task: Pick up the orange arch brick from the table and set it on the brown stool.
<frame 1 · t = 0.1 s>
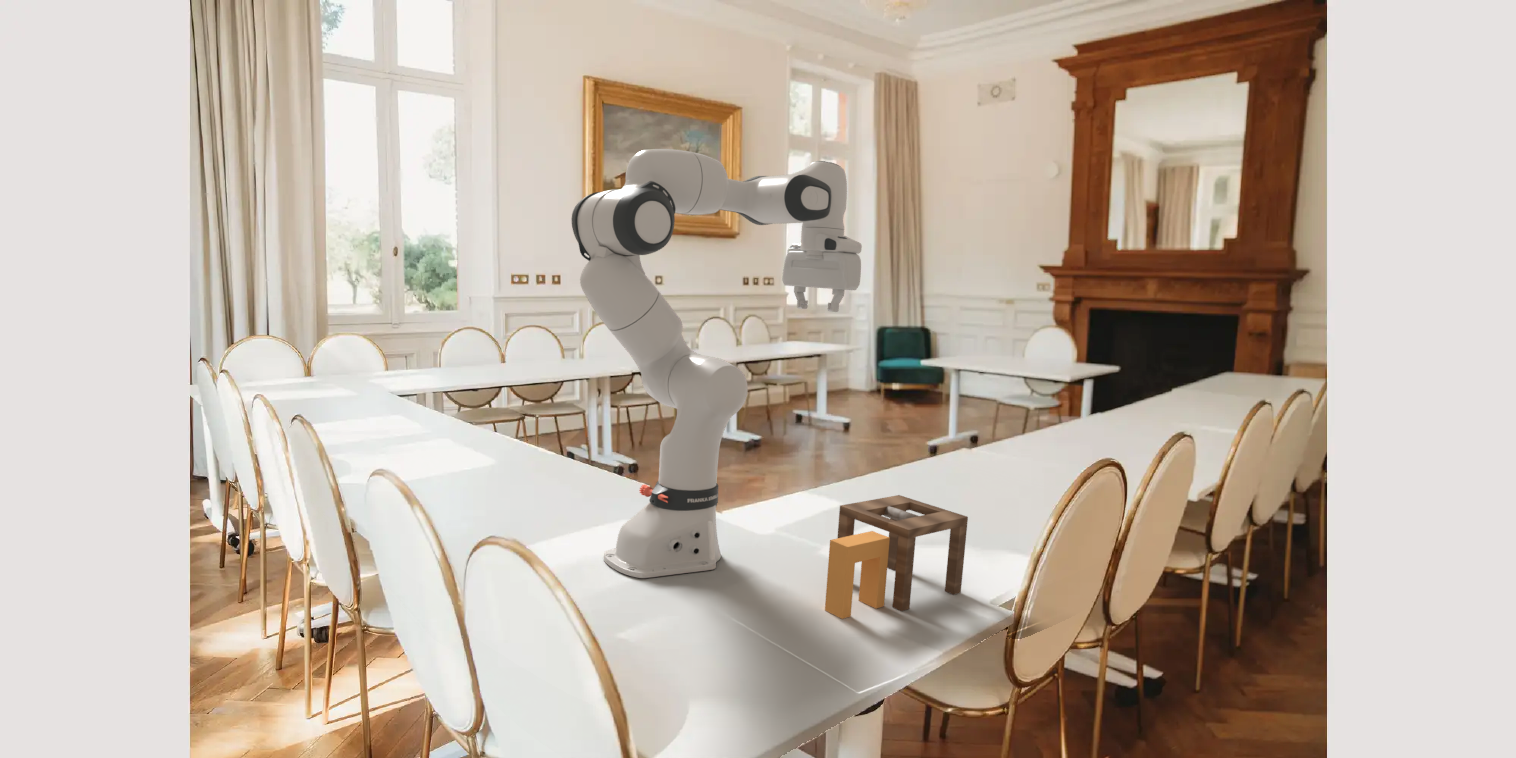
hand: (817, 310, 172), 48 cm above the table, fingers open, 8 cm apart
orange arch brick: (854, 608, 137), on the table
brown stool: (897, 586, 148), on the table
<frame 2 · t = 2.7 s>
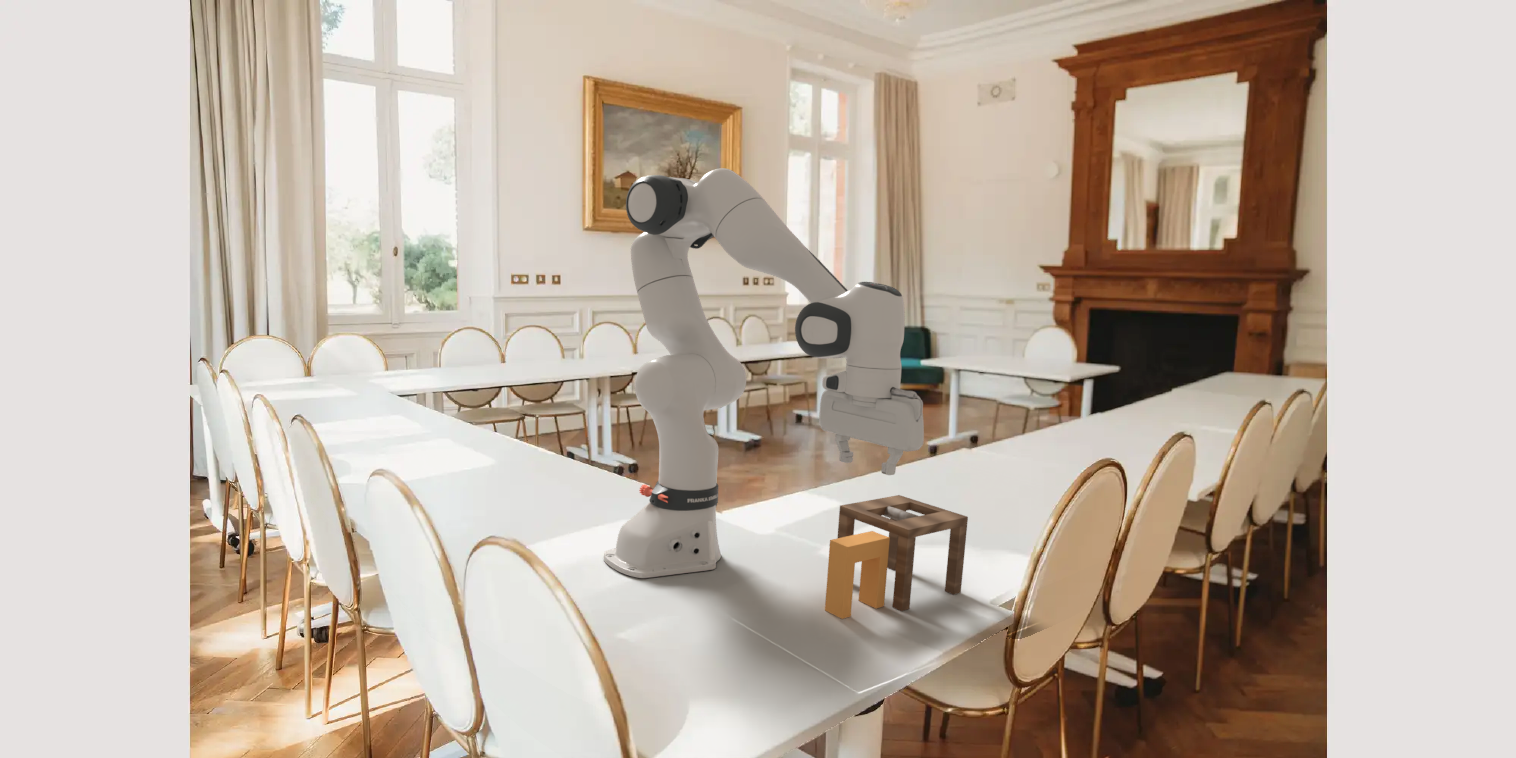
hand: (866, 467, 134), 24 cm above the table, fingers open, 8 cm apart
nothing on the table moved.
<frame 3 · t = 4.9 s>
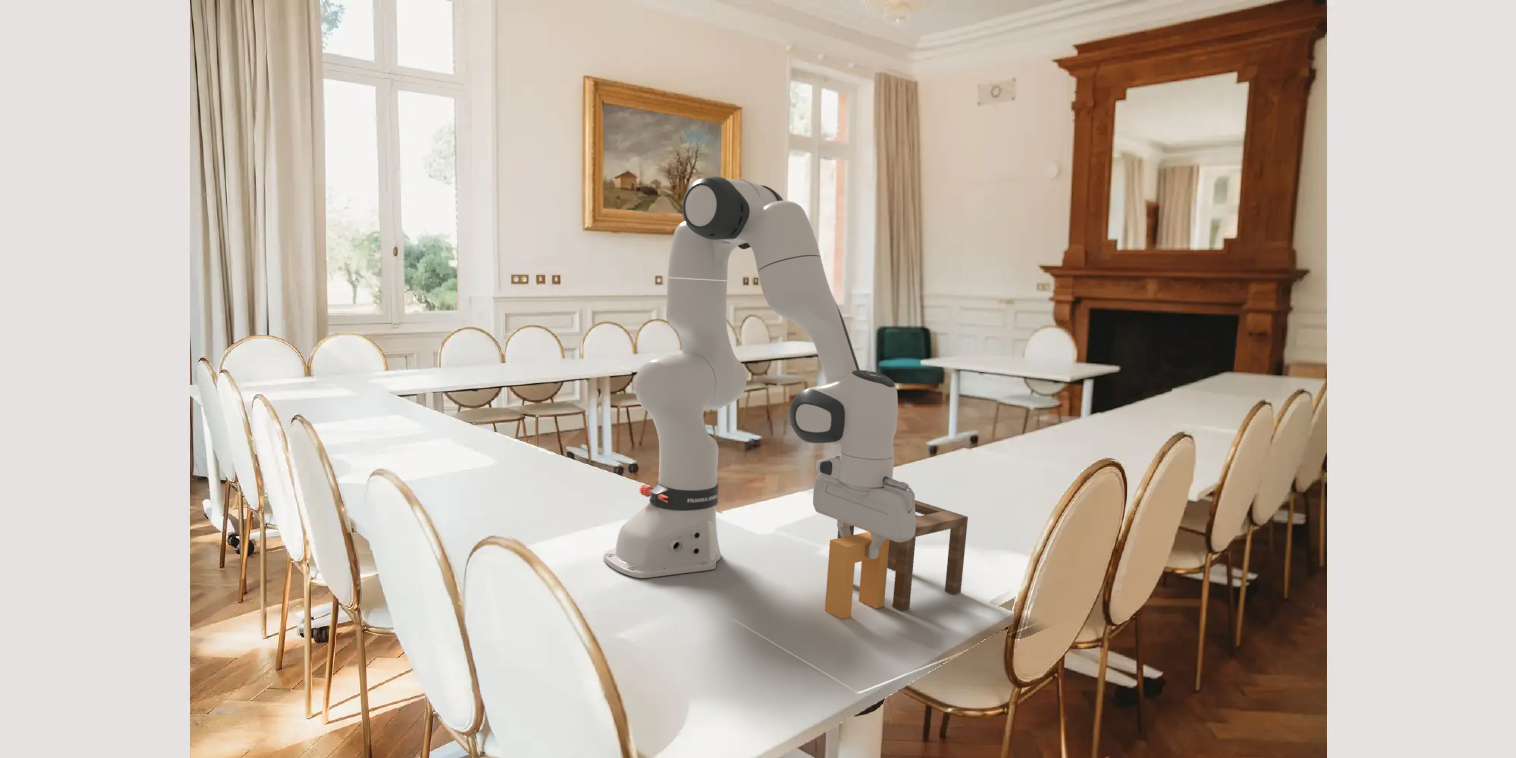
hand: (859, 552, 136), 10 cm above the table, fingers closed on orange arch brick, 4 cm apart
orange arch brick: (854, 608, 137), on the table, touching gripper
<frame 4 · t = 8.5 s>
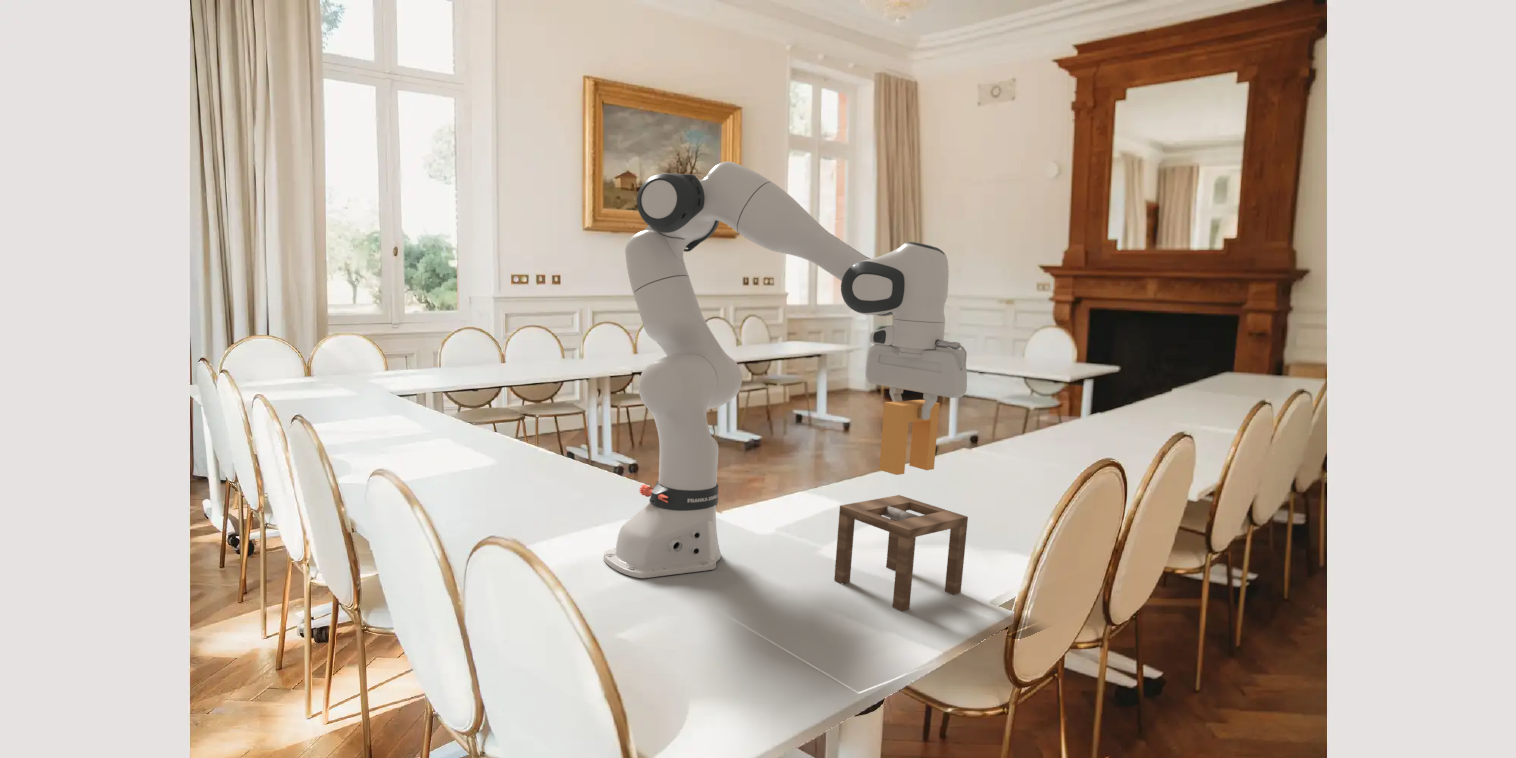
hand: (911, 416, 144), 31 cm above the table, fingers closed on orange arch brick, 4 cm apart
orange arch brick: (906, 469, 145), point 22 cm above the table, touching gripper
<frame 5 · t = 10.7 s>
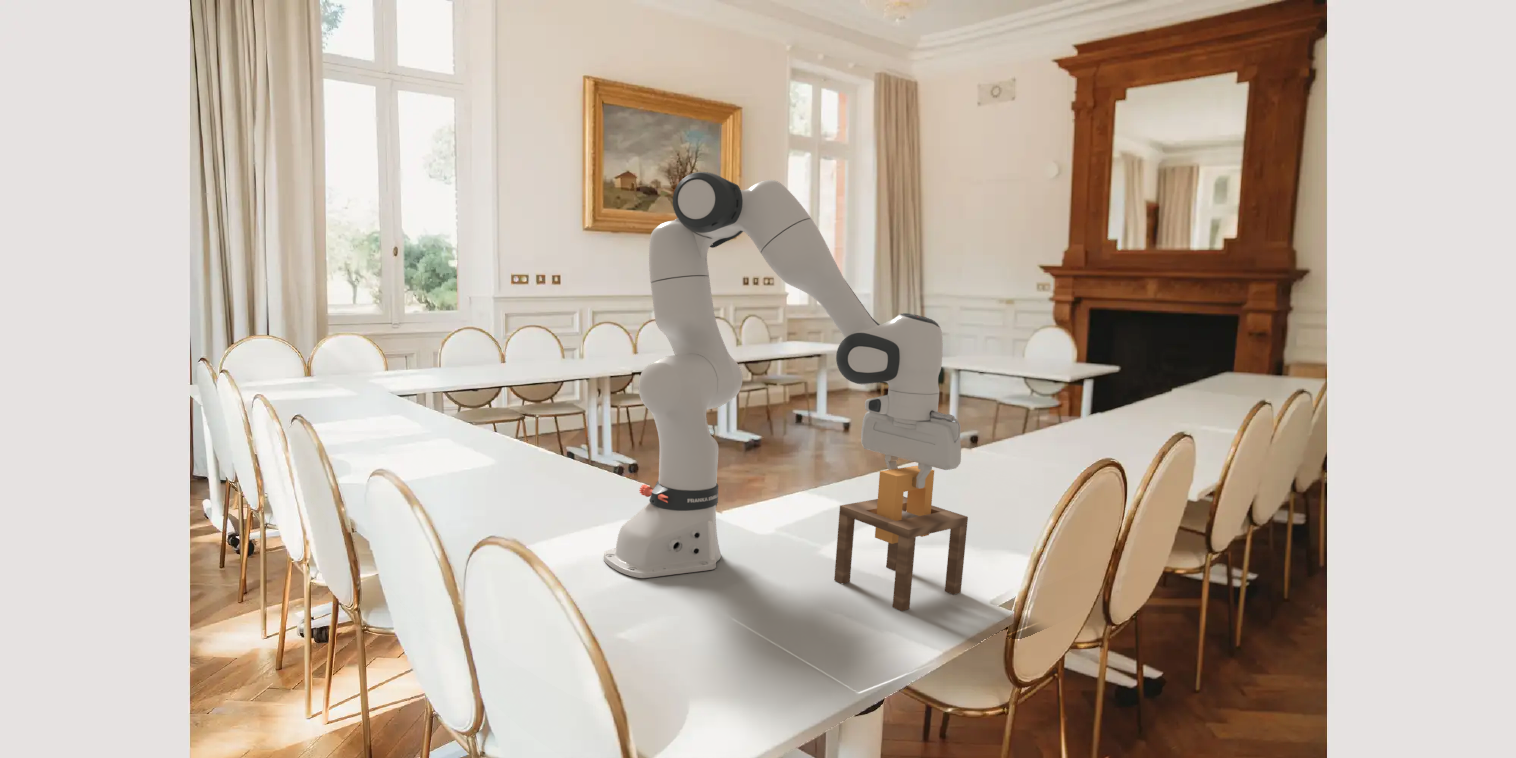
hand: (906, 483, 146), 19 cm above the table, fingers closed on orange arch brick, 4 cm apart
orange arch brick: (902, 536, 147), point 9 cm above the table, touching gripper
when the fingers open (16 cm above the table, at t = 12.4 s): orange arch brick drops 1 cm, resting on brown stool.
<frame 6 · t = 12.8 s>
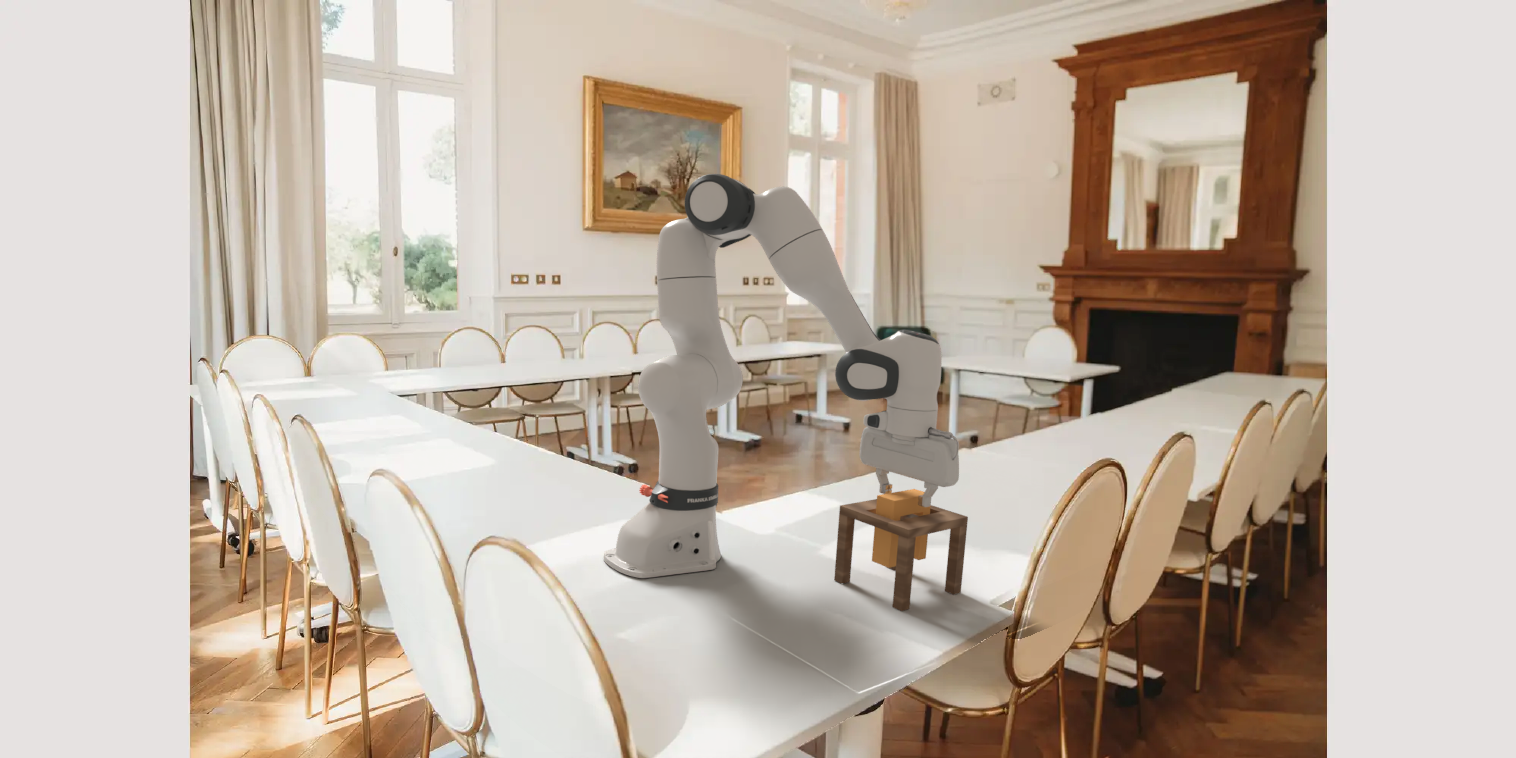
hand: (904, 499, 146), 16 cm above the table, fingers open, 8 cm apart
orange arch brick: (899, 559, 147), point 5 cm above the table, touching brown stool
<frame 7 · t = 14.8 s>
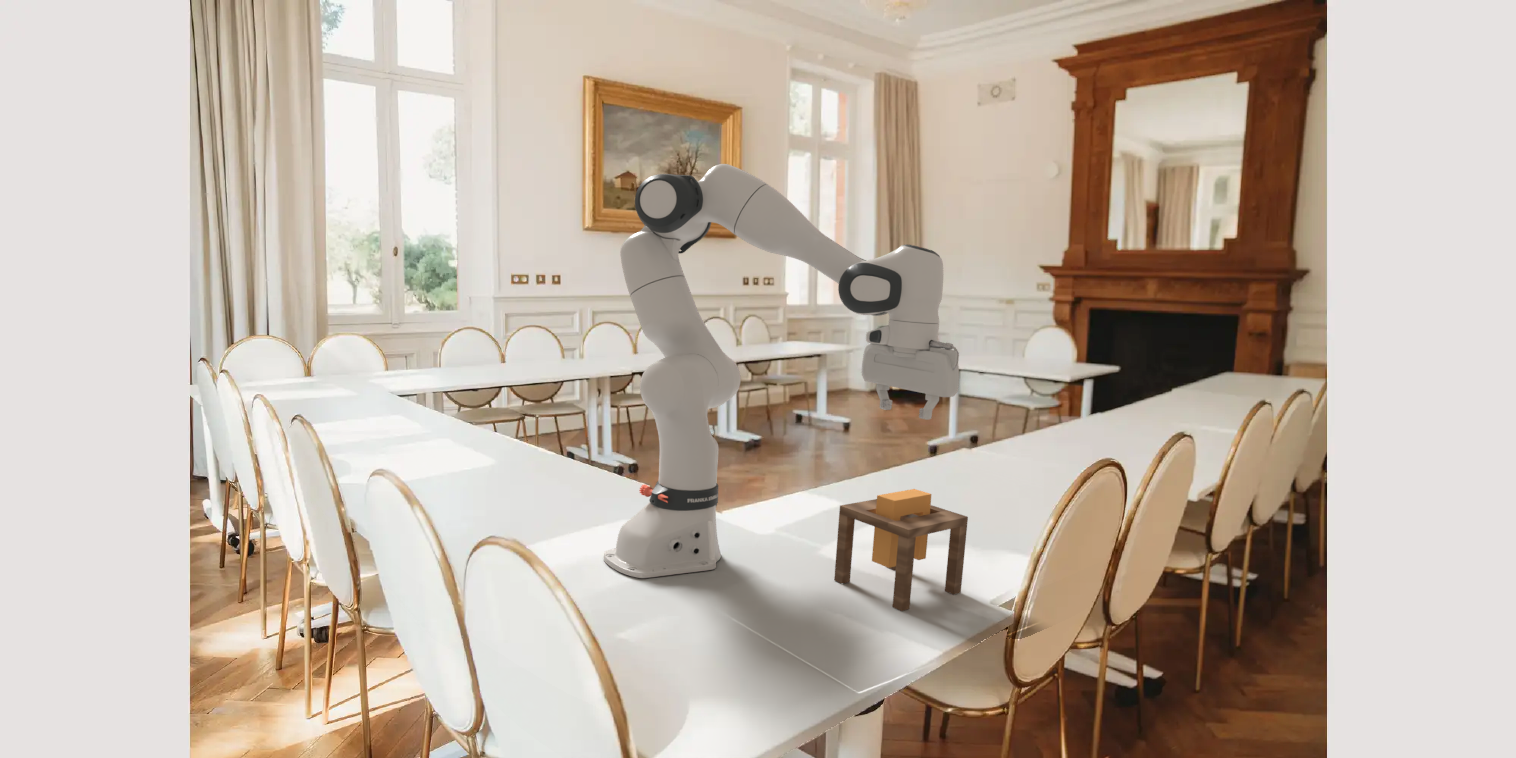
hand: (904, 414, 148), 31 cm above the table, fingers open, 8 cm apart
nothing on the table moved.
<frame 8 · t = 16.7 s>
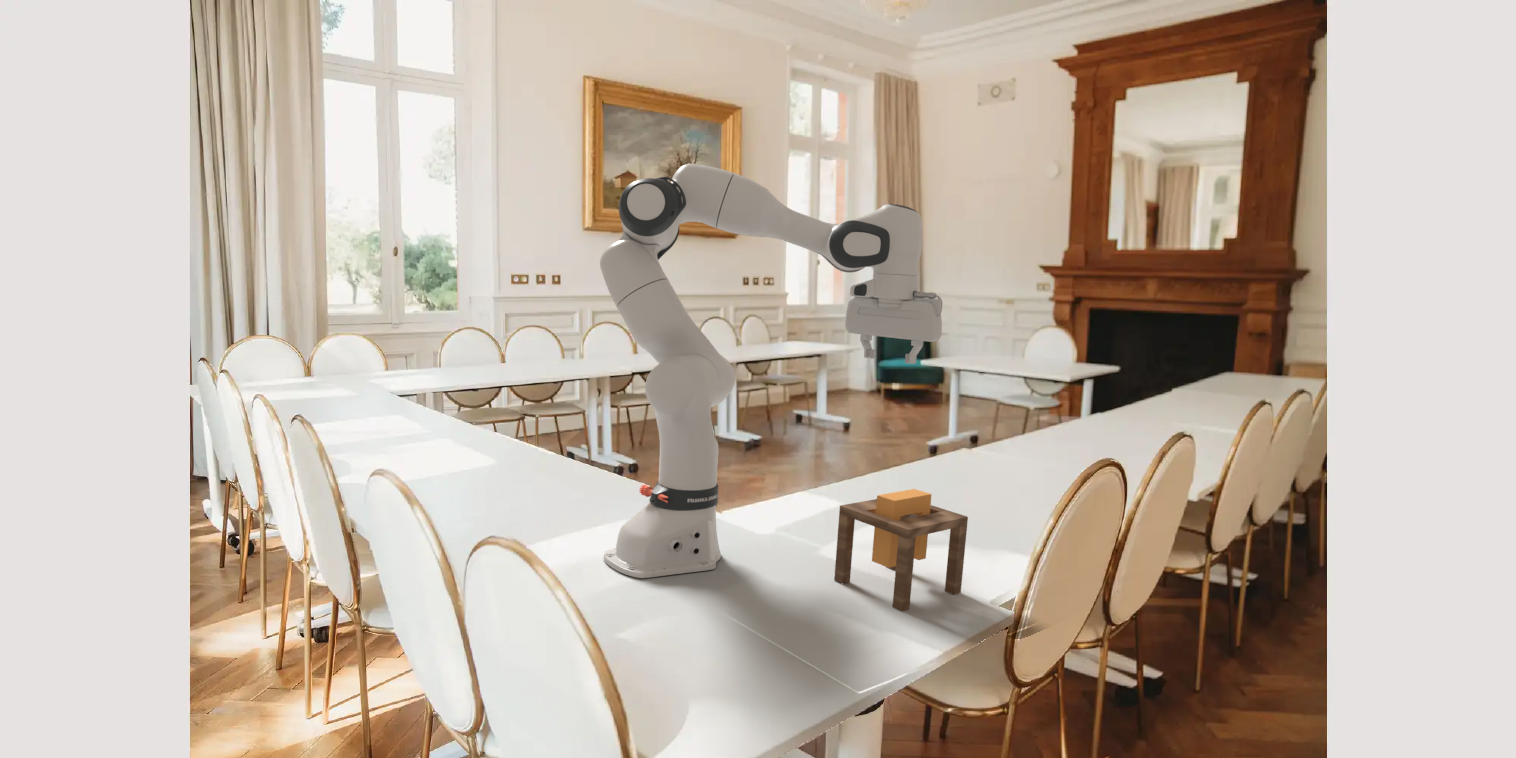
hand: (889, 360, 161), 39 cm above the table, fingers open, 8 cm apart
nothing on the table moved.
at the end: orange arch brick 0.1 cm off-centre on the brown stool, point 5.0 cm above the brown stool's base; orange arch brick touching brown stool; the gripper is holding nothing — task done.
